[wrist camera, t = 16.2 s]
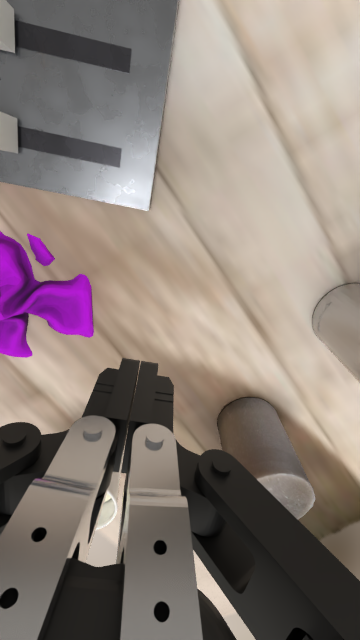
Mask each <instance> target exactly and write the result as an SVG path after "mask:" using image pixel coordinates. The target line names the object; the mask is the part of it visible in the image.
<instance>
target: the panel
mask: <svg viewBox="0 0 360 640" xmlns="http://www.w3.org/2000/svg"><path fill="white" fill-rule="evenodd" d="M6 1H7V2H8V3H9V4H10V5H11V6H12V7H13V9H14V29H15V53H13V52H8V51H4V50H0V112H3V113H5V114H8V115H10V116H13V117H15V118H17V127H18V153H13V152H8V151H2V150H0V182H5V183H10V184H15V185H20V186H25V187H30V188H35V189H40V190H45V191H50V192H55V193H60V194H66V195H71V196H76V197H81V198H86V199H91V200H96V201H101V202H106V203H111V204H116V205H121V206H126V207H131V208H136V209H142V210H147V211H149V210H150V205H151V197H152V190H153V183H154V176H155V169H156V162H157V155H158V148H159V141H160V134H161V127H162V119H163V112H164V105H165V98H166V91H167V84H168V77H169V70H170V63H171V56H172V48H173V41H174V34H175V27H176V20H177V13H178V6H179V0H6Z"/></svg>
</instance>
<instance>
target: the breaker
mask: <svg viewBox="0 0 360 640" xmlns="http://www.w3.org/2000/svg"><path fill="white" fill-rule="evenodd" d="M0 150H2V151H8V152H13V153H18V127H17V118H15V117H13V116H10V115H8V114H5V113H3V112H0Z"/></svg>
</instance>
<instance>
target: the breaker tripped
mask: <svg viewBox="0 0 360 640" xmlns="http://www.w3.org/2000/svg"><path fill="white" fill-rule="evenodd" d="M0 50H4V51H8V52H13V53H15V29H14V9H13V7H12V6H11V5H10V4H9V3H8V2H7V1H6V0H0Z"/></svg>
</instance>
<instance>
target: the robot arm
mask: <svg viewBox="0 0 360 640" xmlns="http://www.w3.org/2000/svg"><path fill="white" fill-rule="evenodd" d="M312 324H313V330H314V332H315V334H316V336H317V337H318V338H319V339H320V340H321V341H322V342H323V343H324V344H325V346H326V347H327V348H328V349H329V350H330V351H331V352H332V353H333V354H334V355H335V357H336V358H337V359H338V360H339V361H340V362H341V363H342V364H343V365H344V366H345V367H346V368H347V369H348V370H349V372H350V373H351V374H352V375H353V376H354V377H355V378H356V379H357V380H358V381H359V382H360V284H358V283H357V284H346V285H342V286H340V287H338V288H335V289H334V290H332V291H330V292H329V293H328V294H327V295H325V296H324V297H323V298H322V300H321V301H320V302H319V303H318V305H317V307H316V309H315V311H314V314H313V321H312ZM139 363H140V361H139V360H132V359H126V358H122V361H121V365H120V368H119V370H118V369H112V368H107V369H106V370H104V371H103V372H102V373H100V374H99V377H98V379H97V382H96V384H95V387H94V389H93V391H92V394H91V396H90V399H89V401H88V404H87V406H86V409H85V411H84V413H83V416H82V418H80V419H78V420H77V421H76V422H75V423H74V424H73V425H72V426H71V428H70V429H69V430H67V431H64V432H60V433H54V434H46V435H41V432H40V430H39V429H38V428H37V427H36V426H34V425H33V424H30V423H25V422H16V423H11V424H7V425H5V426H2V427H0V640H236V638H235V636H234V635H233V633H232V632H231V630H230V628H229V627H228V625H227V623H226V622H225V621H224V619H223V617H222V616H221V614H220V613H219V611H218V610H217V608H216V607H215V606H214V605H213V603H212V602H211V601H210V600H209V599H208V598H207V597H206V596H205V595H204V594H203V593H202V592H201V591H200V590H198V589H197V582H196V573H195V564H194V555H193V550H194V551H195V552H196V554H197V555H198V557H199V558H200V560H201V561H202V563H203V564H204V565H205V567H206V568H207V570H208V571H209V573H210V574H211V576H212V577H213V578H214V580H215V581H216V583H217V584H218V586H219V587H220V588H221V590H222V591H223V593H224V594H225V596H226V597H227V599H228V600H229V601H230V603H231V604H232V606H233V607H234V609H235V610H236V611H237V613H238V614H239V616H240V617H241V619H242V620H243V622H244V623H245V624H246V626H247V627H248V629H249V630H250V632H251V633H252V634H253V636H254V637H255V639H256V640H360V581H359V580H358V579H357V578H356V577H355V576H354V575H353V574H352V573H351V572H350V571H349V570H348V569H347V568H346V567H345V566H344V565H343V564H342V563H341V562H340V561H339V560H338V559H337V558H336V557H335V556H334V555H333V554H332V553H331V552H330V551H329V550H328V549H327V548H326V547H325V546H324V545H323V544H322V543H321V542H320V541H319V540H318V539H317V538H316V537H315V536H314V535H313V534H312V533H311V532H310V531H309V530H308V529H307V528H306V527H305V526H303V525H302V524H301V523H300V522H299V521H298V520H297V519H296V518H295V517H294V516H293V515H292V514H291V513H290V512H289V511H288V510H287V509H286V508H285V507H284V506H283V505H282V504H281V503H280V502H279V501H278V500H277V499H276V498H275V497H274V496H273V495H272V494H271V493H270V492H269V491H268V490H267V489H266V488H265V487H264V486H263V485H262V484H261V483H260V482H259V481H258V480H257V479H256V478H255V477H254V476H253V475H252V474H251V473H250V472H249V471H248V470H247V469H246V468H245V467H244V466H243V465H242V464H241V463H240V462H239V461H238V460H237V459H236V458H234V457H233V456H232V455H231V454H229V453H227V452H225V451H222V450H216V449H213V450H208V451H205V452H204V453H203V454H202V455H201V456H200V455H197V454H195V453H193V452H190V451H188V450H186V449H185V448H183V447H182V446H181V445H180V444H179V443H178V442H177V440H176V439H175V436H174V434H173V394H174V385H173V384H172V382H171V380H170V378H169V377H164V376H157V372H158V363H152V362H145V361H141V365H140V370H139ZM138 370H139V375H138ZM137 376H138V380H137ZM136 382H137V385H136ZM135 388H136V390H135ZM134 394H135V395H134ZM128 425H129V426H128ZM127 430H128V432H127ZM126 435H127V438H126ZM125 440H126V445H125ZM124 445H125V451H124V457H123V463H122V469H121V473H126V479H125V485H124V491H123V497H122V507H121V518H120V529H119V540H118V551H117V560H116V564H114V565H109V566H103V567H94V566H91V565H89V564H87V563H86V560H87V556H88V553H89V549H90V546H91V543H92V540H93V536H94V533H95V530H96V527H97V524H98V520H99V517H100V514H101V511H102V507H103V504H104V501H105V498H106V494H107V489H108V487H109V485H110V482H111V477H112V473H113V472H119V470H120V465H121V460H122V455H123V450H124Z"/></svg>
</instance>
